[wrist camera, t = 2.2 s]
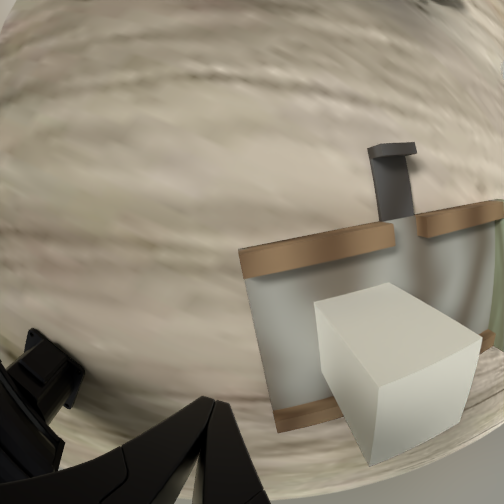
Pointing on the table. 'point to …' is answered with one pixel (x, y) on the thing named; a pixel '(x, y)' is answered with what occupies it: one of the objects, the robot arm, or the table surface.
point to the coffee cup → (502, 69)
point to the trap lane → (371, 281)
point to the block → (394, 367)
